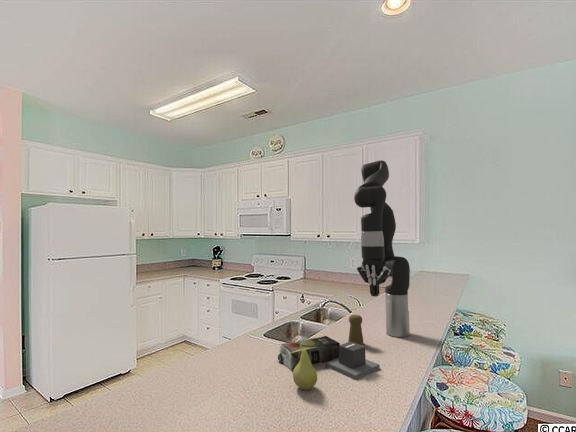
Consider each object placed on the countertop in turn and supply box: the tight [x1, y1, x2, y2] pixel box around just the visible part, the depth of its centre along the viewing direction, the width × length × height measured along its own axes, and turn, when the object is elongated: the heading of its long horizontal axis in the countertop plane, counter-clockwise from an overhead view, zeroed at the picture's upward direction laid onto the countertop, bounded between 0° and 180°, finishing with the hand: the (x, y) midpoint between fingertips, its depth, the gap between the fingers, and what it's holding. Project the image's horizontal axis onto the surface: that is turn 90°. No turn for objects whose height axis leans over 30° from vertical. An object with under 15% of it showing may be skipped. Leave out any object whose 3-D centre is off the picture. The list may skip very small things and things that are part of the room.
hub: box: [325, 358, 380, 380], centre depth 99 cm, size 12×12×5 cm
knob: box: [339, 341, 367, 369], centre depth 99 cm, size 6×6×6 cm
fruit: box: [292, 340, 318, 391], centre depth 86 cm, size 7×8×12 cm
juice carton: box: [277, 335, 341, 371], centre depth 105 cm, size 20×10×6 cm, turn 116°
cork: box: [347, 314, 365, 346], centre depth 121 cm, size 6×6×11 cm
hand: (375, 295), depth 104 cm, fingers closed
